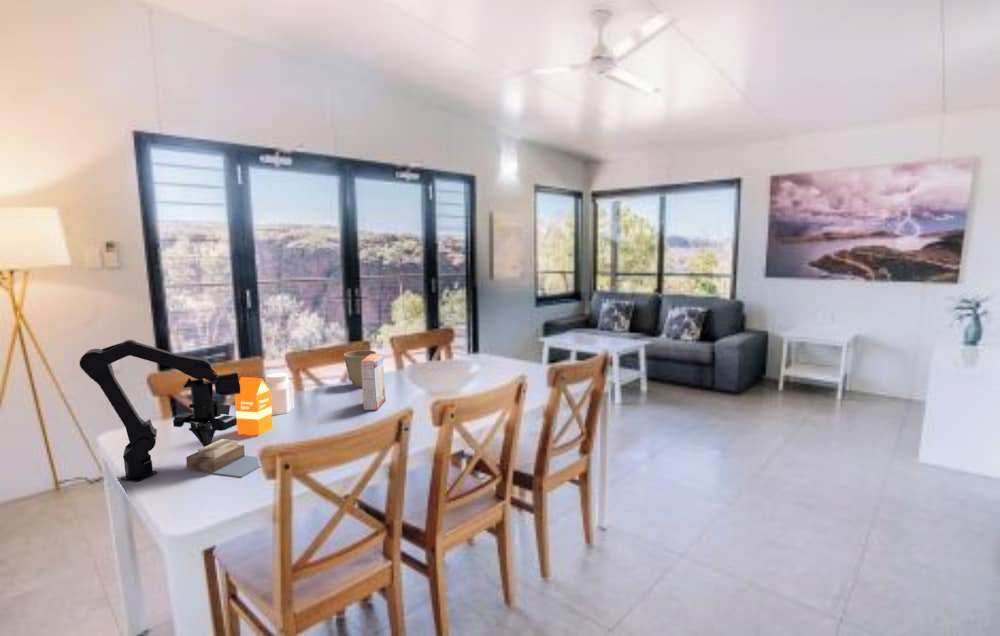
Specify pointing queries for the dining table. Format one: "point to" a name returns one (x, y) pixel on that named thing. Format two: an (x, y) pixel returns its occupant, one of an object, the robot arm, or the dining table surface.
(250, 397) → the orange juice
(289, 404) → the jar
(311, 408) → the dining table surface
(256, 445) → the dining table surface
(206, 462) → the brown wooden flat block
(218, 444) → the beige rectangular block
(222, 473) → the mat
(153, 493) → the dining table surface
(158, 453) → the dining table surface
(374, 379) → the cracker box
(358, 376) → the plant pot
